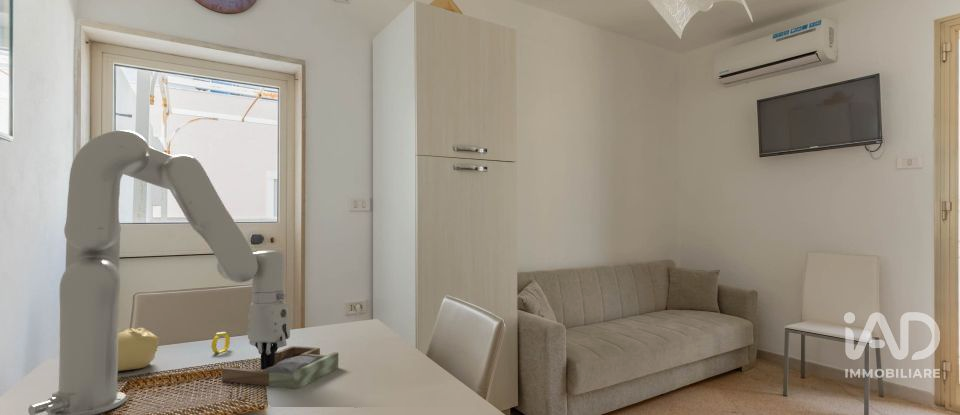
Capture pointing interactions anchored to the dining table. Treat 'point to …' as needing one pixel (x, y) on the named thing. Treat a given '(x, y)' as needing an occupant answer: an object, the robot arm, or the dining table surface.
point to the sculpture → (136, 348)
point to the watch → (227, 342)
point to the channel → (286, 379)
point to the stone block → (291, 364)
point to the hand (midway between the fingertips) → (267, 368)
